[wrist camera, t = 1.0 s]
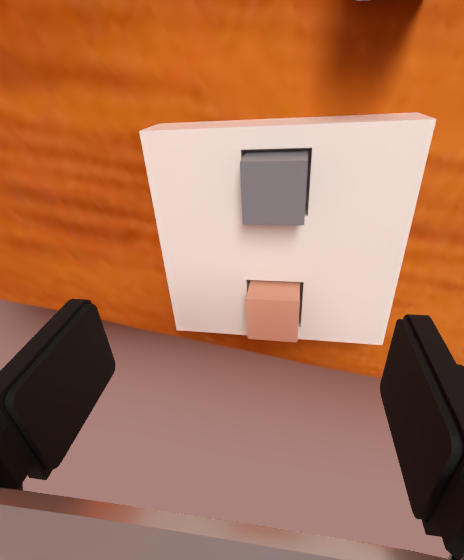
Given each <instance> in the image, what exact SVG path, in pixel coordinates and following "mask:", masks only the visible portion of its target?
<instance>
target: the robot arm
mask: <svg viewBox="0 0 464 560" xmlns="http://www.w3.org/2000/svg"><path fill="white" fill-rule="evenodd" d="M114 371H115V360H114V357H113V354H112V351H111V348H110V346H109V342H108V339H107V336H106V334H105V331H104V328H103V325H102V322H101V319H100V316H99V313H98V310H97V307H96V306H95V305H94V304H92V302H91V301H90V300H83V299H71V300H69V301H68V302H67V303H66V304H65V305H64V306H63V307H62V308H61V309H60V310H59V311H58V312H57V313H56V314H55V315H54V316H53V317H52V318H51V319H50V320H49V321H48V322H47V323H46V324H45V325H44V326H43V327H42V329H41V330H40V331H39V332H38V333H37V334H36V335H35V336H34V337H33V338H32V339H31V340H30V341H29V342H28V343H27V344H26V345H25V346H24V347H23V348H22V349H21V350H20V351H19V352H18V353H17V354H16V355H15V356H14V357H13V359H11V361H10V362H9V363H8V364H7V365H6V366H5V367H4V368H3V369H2V370H1V371H0V560H464V366H462V365H458V364H456V362H455V361H454V359H453V357H452V355H451V353H450V352H449V350H448V348H447V346H446V344H445V343H444V341H443V339H442V337H441V335H440V334H439V332H438V330H437V328H436V326H435V325H434V323H433V321H432V319H431V318H430V316H428V315H409V314H407V315H405V316H404V318H403V319H398V320H397V322H396V326H395V330H394V333H393V337H392V341H391V345H390V349H389V353H388V356H387V360H386V364H385V368H384V372H383V376H382V380H381V384H380V392H381V397H382V401H383V405H384V409H385V412H386V416H387V420H388V423H389V427H390V431H391V434H392V438H393V442H394V446H395V449H396V453H397V457H398V460H399V463H400V467H401V471H402V475H403V479H404V482H405V486H406V490H407V494H408V497H409V501H410V505H411V508H412V512H413V514H414V516H415V517H416V518H417V519H422V522H423V526H424V529H425V533H426V535H433V536H440V537H442V539H443V542H444V545H445V548H446V550H447V551H448V552H449V553H451V554H450V556H449V558H448V559H445V558H441V557H436V556H432V555H427V554H423V553H419V552H414V551H410V550H403V549H398V548H392V547H387V546H381V545H375V544H369V543H364V542H358V541H352V540H346V539H341V538H334V537H328V536H322V535H316V534H309V533H303V532H296V531H290V530H283V529H277V528H271V527H264V526H258V525H251V524H245V523H238V522H232V521H226V520H219V519H212V518H206V517H199V516H192V515H186V514H179V513H173V512H166V511H159V510H152V509H145V508H139V507H132V506H125V505H119V504H112V503H105V502H99V501H92V500H85V499H78V498H71V497H64V496H57V495H50V494H43V493H36V492H29V491H23V481H24V480H25V478H26V476H27V475H28V476H29V478H35V479H42V480H47V478H48V477H49V475H50V473H51V472H52V470H53V469H55V468H57V467H58V466H59V465H60V463H61V462H62V460H63V458H64V457H65V455H66V453H67V452H68V450H69V448H70V446H71V444H72V443H73V441H74V440H75V438H76V436H77V434H78V433H79V431H80V430H81V428H82V426H83V424H84V423H85V421H86V419H87V418H88V416H89V414H90V413H91V411H92V409H93V407H94V406H95V404H96V402H97V401H98V399H99V397H100V396H101V394H102V392H103V390H104V389H105V387H106V385H107V384H108V382H109V380H110V379H111V377H112V375H113V373H114Z"/></svg>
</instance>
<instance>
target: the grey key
mask: <svg viewBox="0 0 464 560" xmlns="http://www.w3.org/2000/svg"><path fill="white" fill-rule="evenodd" d="M307 170H308V153H307V151H287V152H249V153H245V155H244V156H243V158H242V159H241V161H240V179H241V201H242V223H243V225H304V221H305V204H306V187H307Z"/></svg>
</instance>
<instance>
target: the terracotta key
mask: <svg viewBox="0 0 464 560" xmlns="http://www.w3.org/2000/svg"><path fill="white" fill-rule="evenodd" d="M299 306H300V282H286V281H263V280H250V284H249V288H248V292H247V296H246V313H247V335H248V339H257V340H270V341H284V342H297V340H298V323H299Z"/></svg>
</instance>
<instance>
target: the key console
mask: <svg viewBox="0 0 464 560" xmlns="http://www.w3.org/2000/svg"><path fill="white" fill-rule="evenodd" d="M435 122H436V119H435V118H432V117H429V116H426V115H424V114H421V113H418V112H415V113H392V114H369V115H346V116H323V117H300V118H278V119H255V120H232V121H209V122H186V123H163V124H157V125H154V126H151V127H149V128H146V129H143V130H141V131H139V133H140V138H141V143H142V148H143V154H144V159H145V164H146V170H147V175H148V180H149V186H150V191H151V196H152V201H153V207H154V212H155V217H156V223H157V228H158V233H159V239H160V244H161V249H162V255H163V260H164V265H165V270H166V276H167V281H168V286H169V292H170V297H171V302H172V308H173V313H174V318H175V323H176V329H177V330H182V331H195V332H209V333H223V334H237V335H247V313H246V296H247V292H248V288H249V284H250V280H263V281H286V282H300V306H299V323H298V339H305V340H319V341H333V342H346V343H360V344H374V345H383V341H384V336H385V332H386V328H387V324H388V320H389V315H390V311H391V307H392V303H393V299H394V294H395V290H396V286H397V282H398V278H399V273H400V269H401V265H402V261H403V257H404V252H405V248H406V244H407V240H408V236H409V231H410V227H411V223H412V219H413V215H414V210H415V206H416V202H417V198H418V194H419V189H420V185H421V181H422V177H423V173H424V168H425V164H426V160H427V156H428V152H429V147H430V143H431V139H432V135H433V131H434V126H435ZM287 151H307V153H308V170H307V187H306V204H305V221H304V225H243V223H242V201H241V179H240V161H241V159H242V158H243V156H244V155H245V153H249V152H287Z"/></svg>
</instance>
